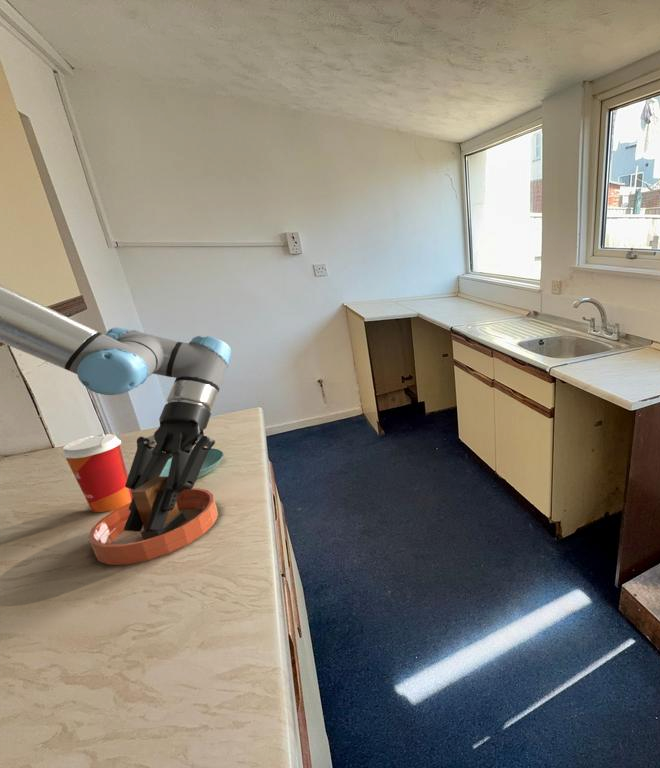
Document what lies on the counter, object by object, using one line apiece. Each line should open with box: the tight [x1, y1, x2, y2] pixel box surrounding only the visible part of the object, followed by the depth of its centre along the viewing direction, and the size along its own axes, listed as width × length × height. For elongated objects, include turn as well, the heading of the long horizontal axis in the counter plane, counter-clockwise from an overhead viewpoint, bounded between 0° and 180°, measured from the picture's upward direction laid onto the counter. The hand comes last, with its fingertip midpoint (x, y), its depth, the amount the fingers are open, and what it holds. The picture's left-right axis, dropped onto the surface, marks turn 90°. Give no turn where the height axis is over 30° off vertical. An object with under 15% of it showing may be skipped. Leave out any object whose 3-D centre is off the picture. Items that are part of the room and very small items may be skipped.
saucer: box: [159, 447, 224, 479], centre depth 95 cm, size 15×15×3 cm
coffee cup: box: [61, 433, 133, 513], centre depth 80 cm, size 8×8×15 cm
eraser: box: [131, 476, 186, 541], centre depth 72 cm, size 6×3×10 cm, turn 2°
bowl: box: [87, 487, 219, 566], centre depth 73 cm, size 17×17×4 cm
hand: (143, 530), depth 69 cm, fingers closed on eraser, 3 cm apart
